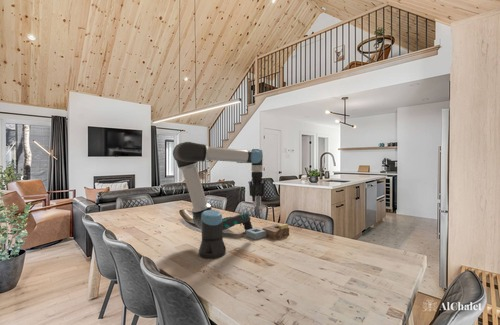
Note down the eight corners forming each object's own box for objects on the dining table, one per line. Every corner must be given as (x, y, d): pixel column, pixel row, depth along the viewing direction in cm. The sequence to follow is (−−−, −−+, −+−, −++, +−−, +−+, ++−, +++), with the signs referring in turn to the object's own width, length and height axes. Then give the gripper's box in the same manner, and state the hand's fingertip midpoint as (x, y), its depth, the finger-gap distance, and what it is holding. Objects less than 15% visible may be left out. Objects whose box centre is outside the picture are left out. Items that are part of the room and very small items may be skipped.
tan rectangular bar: (281, 229, 163) (280, 225, 163) (278, 228, 164) (278, 225, 164) (288, 227, 167) (288, 224, 167) (286, 226, 169) (285, 223, 169)
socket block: (274, 239, 159) (274, 231, 159) (262, 235, 168) (262, 227, 168) (289, 235, 168) (289, 227, 168) (276, 231, 177) (276, 224, 177)
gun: (253, 231, 172) (247, 211, 172) (215, 243, 174) (208, 224, 174) (254, 228, 179) (247, 209, 179) (217, 240, 181) (210, 221, 181)
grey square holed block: (255, 239, 159) (255, 233, 159) (245, 236, 167) (245, 230, 167) (266, 236, 165) (266, 230, 165) (257, 233, 173) (256, 227, 173)
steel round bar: (256, 216, 163) (256, 196, 163) (253, 215, 166) (253, 196, 166) (260, 215, 166) (260, 196, 165) (257, 214, 168) (257, 195, 168)
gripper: (250, 172, 158) (250, 208, 158) (269, 171, 168) (269, 205, 168) (244, 171, 164) (244, 206, 164) (262, 171, 174) (262, 203, 174)
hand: (256, 205), depth 166 cm, fingers closed on steel round bar, 3 cm apart
